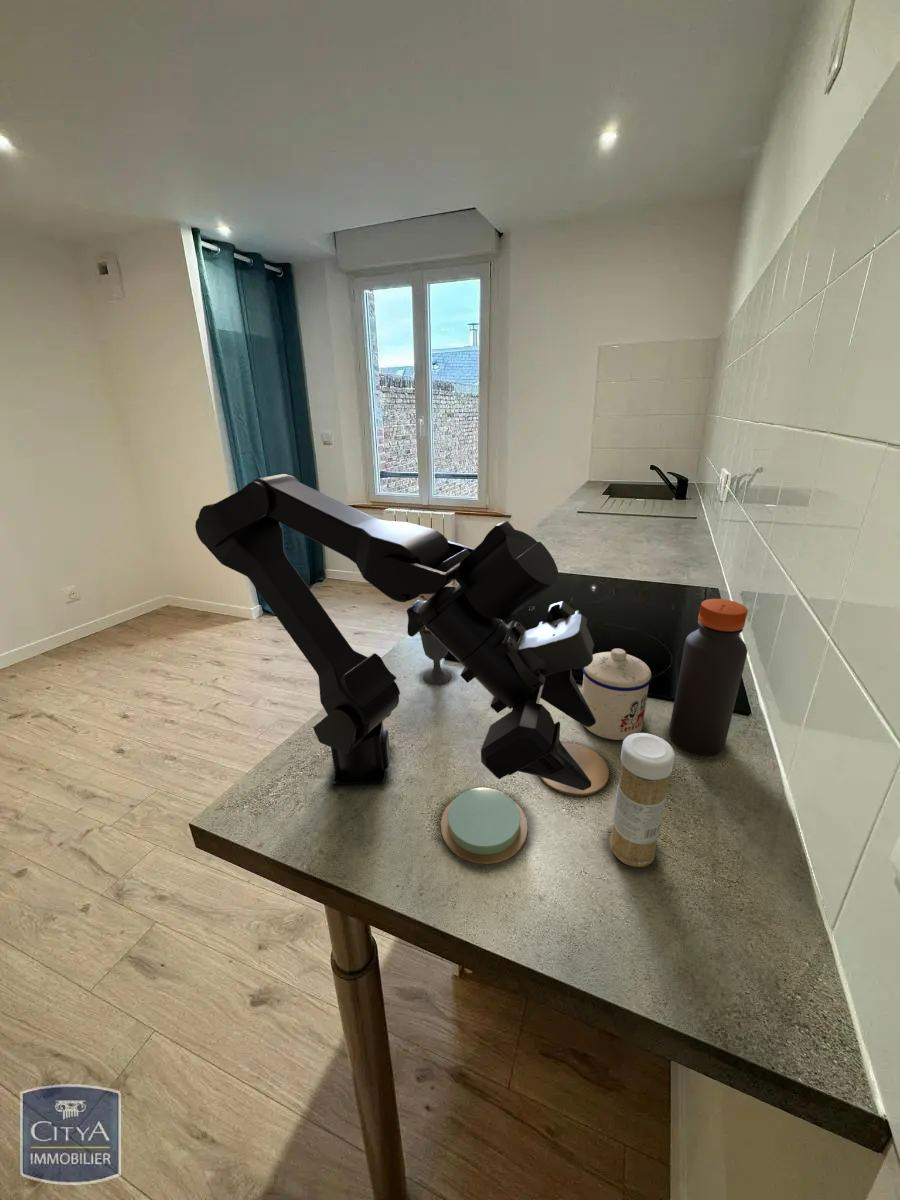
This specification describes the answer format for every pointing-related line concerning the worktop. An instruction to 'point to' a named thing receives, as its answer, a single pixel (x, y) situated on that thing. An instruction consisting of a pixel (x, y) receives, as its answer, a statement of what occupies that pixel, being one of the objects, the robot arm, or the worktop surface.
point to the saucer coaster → (478, 857)
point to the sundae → (434, 657)
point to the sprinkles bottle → (640, 798)
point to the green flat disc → (484, 821)
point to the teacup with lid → (616, 693)
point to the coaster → (590, 766)
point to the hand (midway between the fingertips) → (590, 753)
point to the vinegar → (709, 679)
